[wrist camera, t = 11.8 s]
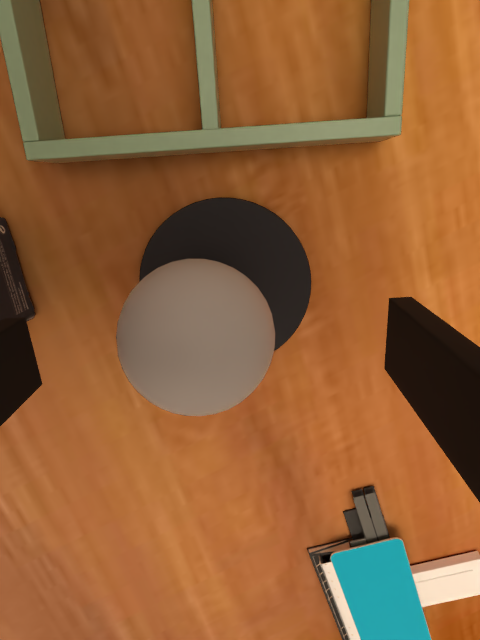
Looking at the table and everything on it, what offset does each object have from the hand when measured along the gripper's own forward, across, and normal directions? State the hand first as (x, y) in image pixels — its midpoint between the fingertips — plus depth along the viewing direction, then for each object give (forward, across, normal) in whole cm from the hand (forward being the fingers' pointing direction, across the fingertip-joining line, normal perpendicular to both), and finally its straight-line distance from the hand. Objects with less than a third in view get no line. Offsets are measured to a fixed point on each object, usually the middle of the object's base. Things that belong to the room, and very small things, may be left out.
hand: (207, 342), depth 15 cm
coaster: (+10, 0, 0) cm, 10 cm away
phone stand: (+9, +12, -25) cm, 29 cm away
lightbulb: (+9, 0, 0) cm, 9 cm away
